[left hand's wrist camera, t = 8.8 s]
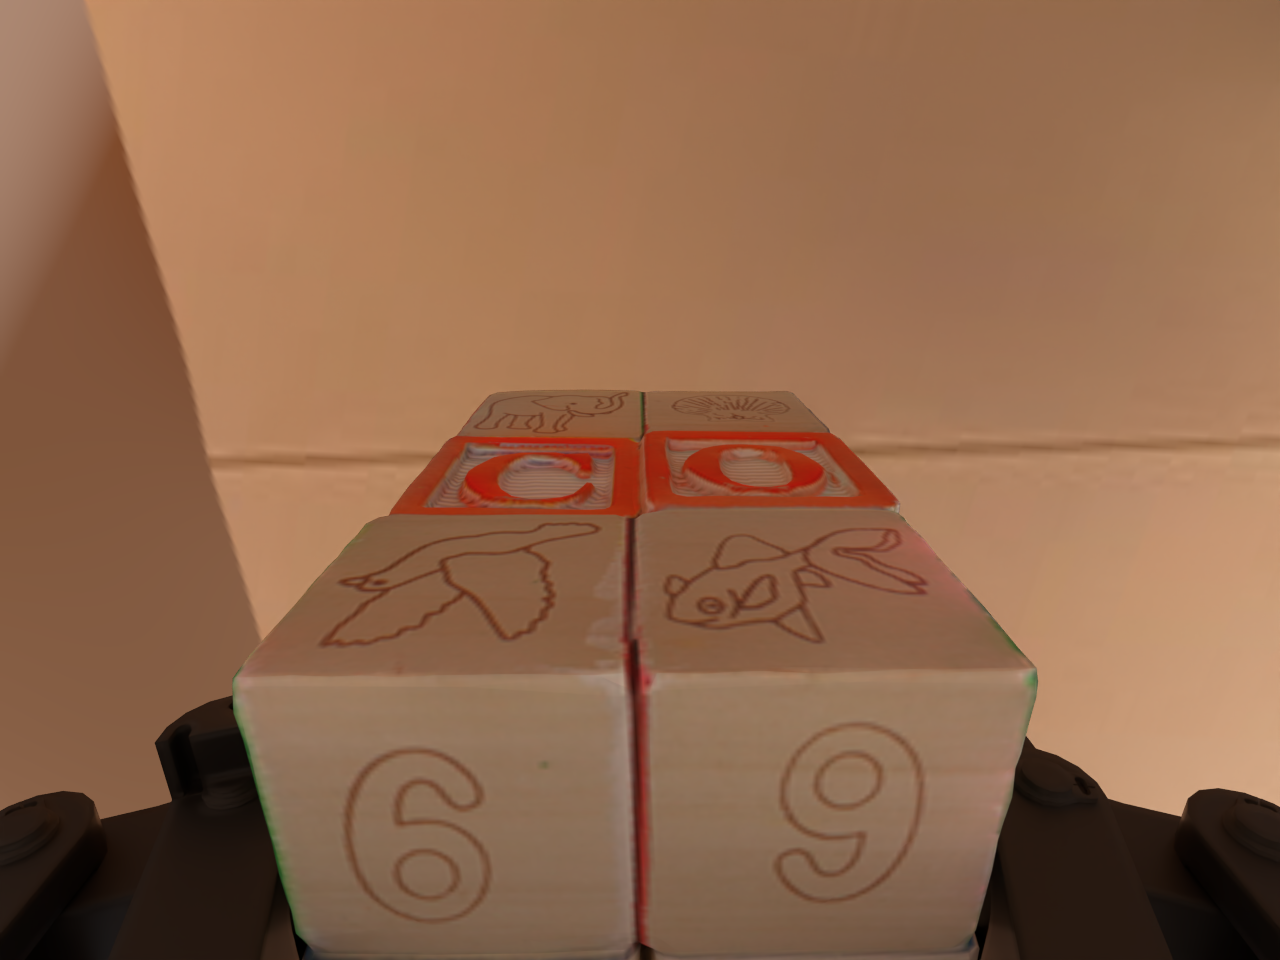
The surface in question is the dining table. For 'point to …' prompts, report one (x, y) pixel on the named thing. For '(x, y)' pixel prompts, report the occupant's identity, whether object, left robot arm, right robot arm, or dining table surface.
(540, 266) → the dining table surface
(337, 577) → the stack of blocks
